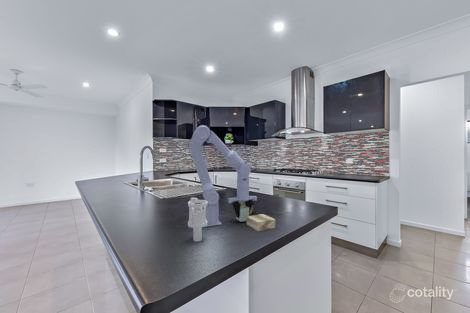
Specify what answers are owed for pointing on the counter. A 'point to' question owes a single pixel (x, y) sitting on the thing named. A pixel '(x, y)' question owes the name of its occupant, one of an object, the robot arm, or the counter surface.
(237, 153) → the robot arm
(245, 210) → the sage block
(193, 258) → the counter surface
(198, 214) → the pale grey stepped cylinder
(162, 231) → the counter surface
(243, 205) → the flower pot
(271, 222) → the beech base
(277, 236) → the counter surface
